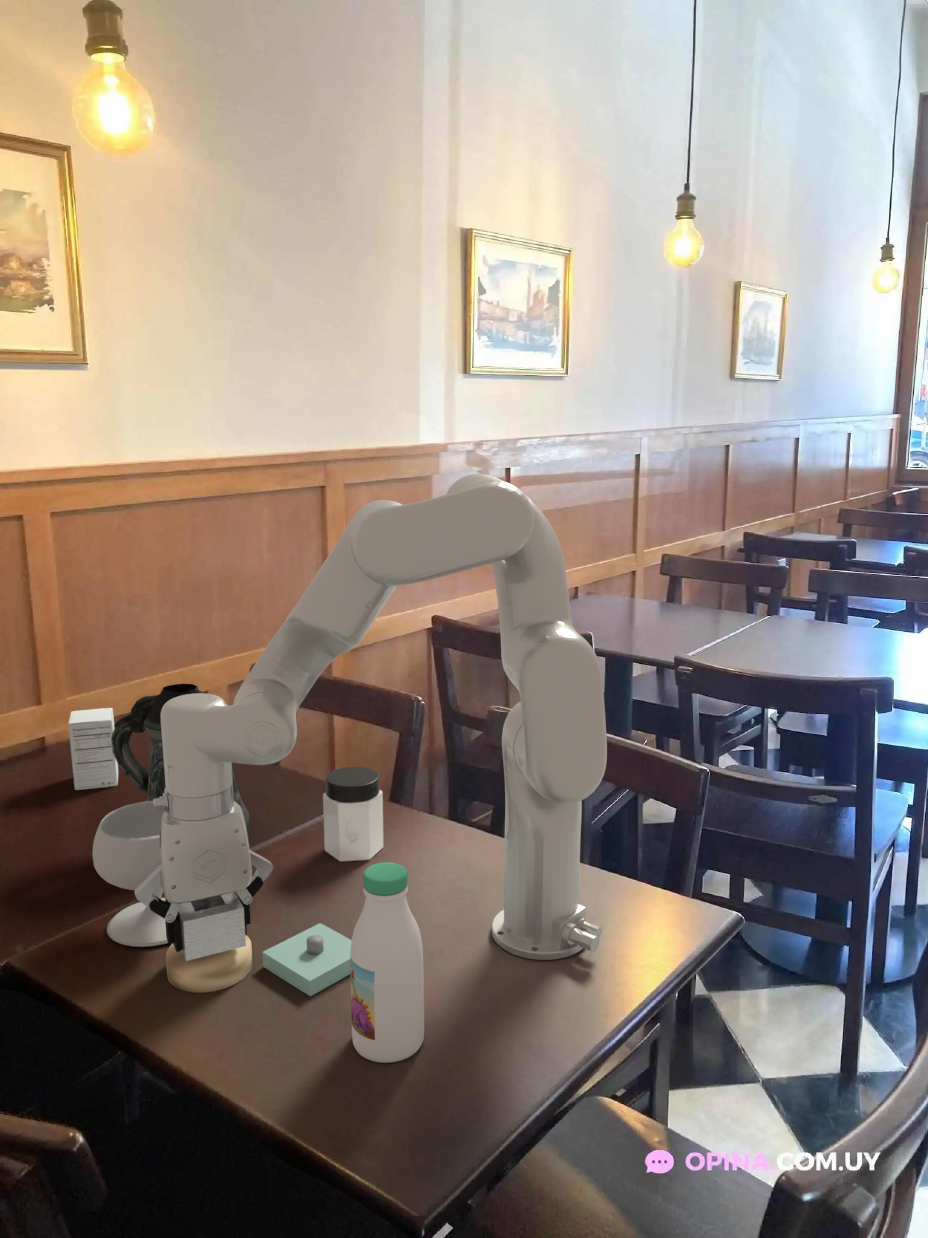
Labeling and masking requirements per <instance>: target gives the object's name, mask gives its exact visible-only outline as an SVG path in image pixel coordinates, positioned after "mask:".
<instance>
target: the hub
mask: <svg viewBox="0 0 928 1238" xmlns="http://www.w3.org/2000/svg"><path fill="white" fill-rule="evenodd" d="M245 939H246V946H244V947H240V948H236V949H232V950H228V951H224V952H220V953H216V954H212V955H208V956H204V957H200V958H196V959H192V960H188V961H186V960H185V957H184V955H183V952H182V950H181V951H180V952H176V950H175V947H174V945H173V943H170V944H171V945H170V946H169V947H168V949H167V950H166V952H165V953H166V954H165V960H166V961H165V962H166V974H167V975H166V976H167V980H168V982H169V983H170V985H172V986H173V987H175V989H178V990H180V991H183V992H187V993H198V994H200V993H203V994H204V993H213V992H217V991H221V990H224V989H228V988H230V987H232V986H234V985H236V984H238V983H240V982H241V981H242V980H243V979H245V978H246V977H247V975H249V973H250V972H251V971H252V967H253V953H252V952H253V951H252V950H253V949H252V941H251V939H250V938H249V936H248V934H247V935H245Z"/></svg>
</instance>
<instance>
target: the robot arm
mask: <svg viewBox="0 0 928 1238" xmlns="http://www.w3.org/2000/svg"><path fill="white" fill-rule="evenodd" d="M564 558H565V557H564V554H563V550H562V547H561V544H560V541H559V539H558V536H557V534H556V531H555V530H554V528H553V526H552V524H551V523H550V521H549V520H548V518H547V517H546V515H545V514H544V513H543V512H542V510H541V509H540V508H539V507H538V505H537V504H536V503H535V502H533V500H532V499H531V498H530V497H528V496H527V494H525V493H524V492H523V491H522V490H521V489H520V488H518V487H516V486H515V485H513V484H511V483H510V482H507V481H505V480H501V479H500V478H498V477H495V476H492V475H490V474H484V473H473V474H471V473H470V474H468V475H465V476H462V477H461V478H458V479H457V480H455V482H453V483H452V484H451V485H450V487H449V488H448V490H447V492H446V494H445V495H440V496H437V497H433V498H428V499H425V500H420V501H416V502H410V503H407V504H402V503H400V502H397V501H394V500H389V499H388V500H387V499H378V500H373V501H371V502H368V503H366V504H365V505H364V506H362V507H361V508H360V509H359V510H358V511H357V512H356V513H355V514H354V516H353V517H352V518H351V520H350V522H349V523H348V524H347V526H346V527H345V529H344V531H343V532H342V534H341V535H340V537H339V538H338V540H337V541H336V543H335V544H334V546H333V548H332V549H331V550H330V553H328V555H327V557H326V559H325V560H324V562H323V563H322V564H321V567H320V568H319V569H318V571H317V572H316V574H315V576H314V577H313V579H312V580H311V581H310V583H309V585H308V586H307V587H306V589H305V591H304V592H303V594H302V595H301V596H300V598H299V600H298V601H297V603H296V605H295V606H294V607H293V608H292V610H291V611H290V612H289V614H288V615H287V617H286V619H285V620H284V622H283V623H282V624H281V626H280V628H278V630H277V631H276V633H275V634H274V635H273V636H272V638H271V639H270V640H269V642H268V644H267V645H266V647H265V648H264V650H263V651H262V653H261V654H260V656H259V657H258V659H257V660H256V662H255V663H254V665H253V666H252V668H251V670H250V671H249V672H248V674H247V676H246V677H245V679H244V681H243V682H242V683H241V685H240V687H239V689H238V691H237V693H236V695H235V697H234V700H233V703H232V705H228V704H227V702H226V701H225V700H224V699H223V698H222V697H220V696H218V695H216V694H211V693H203V692H202V693H196V694H187V695H182V696H178V697H175V698H173V699H170V700H169V701H168V702H166V703H165V704H164V706H163V707H162V710H161V732H162V745H163V758H164V771H165V785H166V788H165V793H163V796H160V798H155V799H153V804H154V809H155V810H160V809H161V810H165V812H164V813H163V815H162V820H161V827H160V839H159V866H158V867H157V868H156V869H155V870H154V871H153V872H152V873H151V874H150V875H149V876H148V877H147V878H146V879H145V880H144V881H143V882H142V883H141V884H140V885H139V886H138V887H137V888H136V890H134V896H135V898H136V900H138V901H139V902H141V903H143V904H144V905H145V906H147V907H148V908H150V910H151V911H153V912H154V913H156V914H157V915H159V916H161V917H162V918H164V919H165V925H166V937H167V941H168V943H167V944H173V945H174V947H175V950H176V952H180V951H181V950H182V939H181V925H180V920H179V918H178V915H177V914H178V912H179V909H180V907H181V905H182V903H188V902H193V901H197V900H202V899H206V898H211V897H215V896H220V895H224V894H228V893H232V892H235V893H236V895H237V897H238V898H239V900H240V902H241V904H242V906H243V907H244V921H245V935H247V936H248V928H247V925H248V926H249V925H251V924H252V923H251V906H250V904H251V903H252V902H253V900H254V896H255V895H256V894H257V893H258V892H259V890H260V889H261V888H262V887H263V885H264V882H265V881H266V880H267V878H268V877H269V875H270V874H271V873H272V871H273V869H274V865H273V863H272V862H271V861H270V860H268V859H267V858H265V857H263V856H262V855H260V854H258V853H256V852H254V850H253V851H252V850H251V849H250V844H249V843H250V842H249V835H248V836H247V830H246V824H245V820H244V816H243V812H242V809H241V807H240V806H239V805H238V804H237V803H236V802H235V801H234V797H233V779H232V768H233V765H232V764H233V763H234V764H241V765H242V764H243V765H253V766H268V765H272V764H277V763H278V762H280V761H282V760H284V759H285V758H286V757H288V755H289V754H290V753H291V752H292V750H293V749H294V748H295V745H296V741H297V736H298V730H297V729H298V728H297V726H298V725H297V715H296V714H297V712H298V709H299V708H300V706H301V704H302V703H303V701H304V700H305V699H306V697H307V695H308V693H309V692H310V690H311V689H312V688H313V686H314V684H315V683H316V682H317V680H318V679H319V678H320V676H321V675H322V674H323V672H324V671H325V669H327V667H329V665H330V664H331V663H333V661H334V660H336V659H337V658H338V657H340V656H342V655H344V654H346V653H348V652H351V651H352V650H353V649H355V648H356V647H357V646H358V645H359V644H361V642H362V641H363V639H364V638H365V637H366V635H367V634H368V632H369V631H370V629H371V628H372V626H373V624H374V622H375V621H376V619H377V618H378V616H379V615H380V613H381V612H382V610H383V609H384V607H385V605H386V604H387V602H388V601H389V599H390V598H391V597H392V595H393V594H394V592H395V590H396V589H397V588H398V587H400V586H402V587H403V586H407V585H408V586H409V585H413V584H419V583H422V582H426V581H431V580H434V579H436V580H437V579H439V578H443V577H446V576H450V575H453V574H457V573H461V572H465V571H469V570H472V569H476V568H480V567H484V566H487V565H490V568H491V571H492V574H493V578H494V585H495V591H496V598H497V605H498V607H497V608H498V619H499V620H498V622H499V630H500V631H499V632H500V649H501V650H500V655H501V656H500V657H501V664H502V667H503V671H504V672H505V674H506V676H507V678H508V679H509V681H510V682H511V683H512V684H513V685H514V686H515V688H516V689H517V690H518V692H519V697H520V698H519V700H520V701H518V702H517V703H516V704H515V705H514V706H513V707H512V708H511V709H510V710H509V712H508V714H507V716H506V718H505V720H504V723H503V726H502V734H501V735H502V736H501V748H502V749H501V750H502V751H501V752H502V761H503V762H502V763H503V774H504V775H503V776H504V793H505V795H504V797H505V800H504V801H505V802H504V803H505V808H504V810H505V812H504V814H505V817H504V818H505V819H504V864H503V865H504V867H503V869H504V870H503V871H504V873H503V874H504V875H503V876H504V877H503V878H504V880H503V883H504V885H503V909H502V910H500V911H499V912H498V913H497V914H496V915H495V916H494V918H493V920H492V923H491V935H492V938H493V940H494V941H495V942H496V944H497V945H498V946H499V947H500V948H502V949H503V950H505V951H506V952H508V953H510V954H512V955H515V956H516V957H517V956H518V957H521V958H524V959H531V960H535V961H536V960H538V961H539V960H540V961H551V960H560V959H563V958H564V959H565V958H568V957H570V956H573V955H575V954H577V953H580V951H582V950H583V949H586V950H587V951H589V952H592V953H594V952H596V951H597V950H598V948H599V945H600V937H601V935H602V927H600V926H599V925H596V924H593V923H590V922H588V921H587V919H586V911H587V910H586V906H584V905H582V904H579V901H580V899H579V896H580V867H581V866H580V864H581V863H580V862H581V836H582V835H581V832H582V831H581V830H582V827H581V826H582V807H583V805H582V802H583V800H585V799H587V798H588V797H590V796H591V795H592V794H593V793H594V792H595V790H597V788H598V787H599V785H600V784H601V782H602V781H603V780H602V779H603V778H604V775H605V771H606V767H607V760H608V757H607V756H608V749H607V748H608V747H607V746H608V743H607V727H606V726H607V725H606V712H605V711H606V709H605V708H606V707H605V695H604V680H603V675H602V669H601V666H600V662H599V659H598V657H597V654H596V652H595V650H594V648H593V647H592V646H591V644H590V643H589V642H588V641H587V640H586V639H585V637H583V636H582V635H581V634H579V633H578V632H577V630H576V629H575V628H574V624H573V620H572V613H571V605H570V604H571V603H570V593H569V586H568V577H567V569H566V563H565V559H564ZM252 866H253V867H254V868H256V870H255V872H254V873H253V867H252ZM160 884H161V886H162V887H163V891H164V892H163V894H164V898H165V899H164V901H163V900H161V899H160V898H158V897H156V896H154V895H153V894H152V892H153V891H154V890H155V889H156V888H157V887H158V886H159V885H160Z"/></svg>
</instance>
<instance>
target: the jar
mask: <svg viewBox="0 0 928 1238" xmlns="http://www.w3.org/2000/svg"><path fill="white" fill-rule="evenodd" d="M379 774H380V773H378V772H377V771H376V770H375V769H372V768H368V767H364V766H346V767H340V768H337V769H334V770H331V771H330V772H329V773H327V774H326V776H325V792H324V793H323V794H322V802H323V803H322V804H323V805H322V806H323V830H324V831H323V834H324V835H323V837H324V843H323V844H324V851H325V852H326V853H327V854H329V855H330V856H331V857H333V858H334V859H335V860H337V861H338V862H352V861H353V862H357V861H370V860H372V858H373V857H374V856H376V855H377V854H378V853H379V852H380V851H381V850H382V849H383V848H384V804H383V802H384V800H383V795H384V793H383V791H382V790H381V789H380V788H381V786H380V785H381V784H380V775H379Z"/></svg>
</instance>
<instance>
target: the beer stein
mask: <svg viewBox="0 0 928 1238" xmlns="http://www.w3.org/2000/svg"><path fill="white" fill-rule="evenodd" d="M196 693H203V692H202V691H201V690H200V689H199V687H198V685H196V684H194V683H193V684H192V683H175V684H170V685H166V686H163V688H162V689H161V691H160V693H159V694H155V695H145V696H142V697H141V698H139V699H137V700H136V701H135V703H134V704H133V705H132V707H131V709H130V713H128V714H126V715H124V716H123V717H122V718H120V719H118V720H117V721H116V722H114V728H115V729H114V731H113V733H112V738H111V745H112V751H113V754H114V756H115V759H116V761H117V763H118V767H119V768H120V769H121V771H123V773H124V775H125V776H126V777H127V778H128V779H129V780H130V781H131V782H132V783H133V784H134V785H135V786H136V787H137V788H138V789H140V790H141V791H142V792H143V793H144V794H147V797H146V801H153V799H155V798H160V796H163V793H165V788H166V785H165V771H164V758H163V745H162V732H161V710H162V707H163V706H164V704H165V703H166V702H168V701H169V700H170V699H173V698H175V697H178V696H182V695H187V694H196ZM145 731H146V733H147V735H148V736H149V737H150V751H149V766H148V769H146V768H145V767H144V766H143V765H142V764H141V763H140V762H139V760H138V758H137V757H136V756H135V754H134V753H133V752H132V750H131V746H130V740H131V736H132V734H133V733H135V734H137V733H138V734H143V733H144V732H145ZM232 779H233V797H234V801H235V802H236V803H237V804H238V805H239V806H240V807H241V809H242V812H243V816H244V820H245V824H246V830H247V836H248V837H249V824H250V813H249V810H248V809H247V807H246V806H245V804H244V802H243V800H242V797H241V794H240V791H239V787H238V785H237V780H236V776H235V773H234V769H233V767H232Z"/></svg>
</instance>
